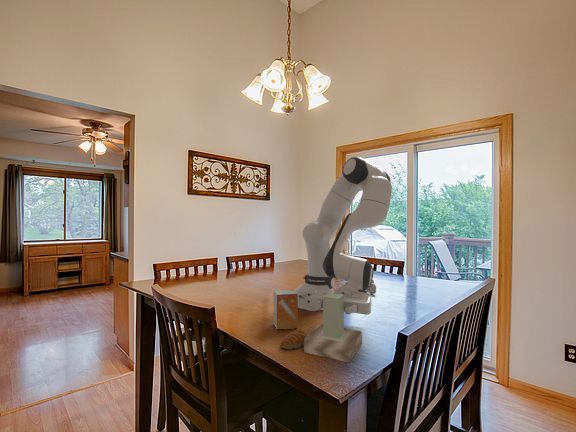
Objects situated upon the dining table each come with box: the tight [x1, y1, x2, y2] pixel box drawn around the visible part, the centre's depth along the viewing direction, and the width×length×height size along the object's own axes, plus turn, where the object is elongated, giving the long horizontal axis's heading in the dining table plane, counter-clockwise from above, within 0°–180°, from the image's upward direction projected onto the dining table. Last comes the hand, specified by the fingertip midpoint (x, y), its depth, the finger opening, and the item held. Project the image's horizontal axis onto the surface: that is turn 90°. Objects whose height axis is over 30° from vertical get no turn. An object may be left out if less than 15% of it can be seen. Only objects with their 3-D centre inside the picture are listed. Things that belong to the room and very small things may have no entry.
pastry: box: [280, 329, 308, 350], centre depth 97 cm, size 9×7×4 cm
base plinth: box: [303, 323, 363, 363], centre depth 94 cm, size 14×14×4 cm
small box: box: [273, 289, 299, 330], centre depth 112 cm, size 8×6×13 cm
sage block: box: [322, 292, 345, 338], centre depth 94 cm, size 5×5×12 cm
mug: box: [367, 279, 377, 295], centre depth 159 cm, size 10×7×7 cm, turn 22°
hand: (332, 309), depth 93 cm, fingers open, 8 cm apart
